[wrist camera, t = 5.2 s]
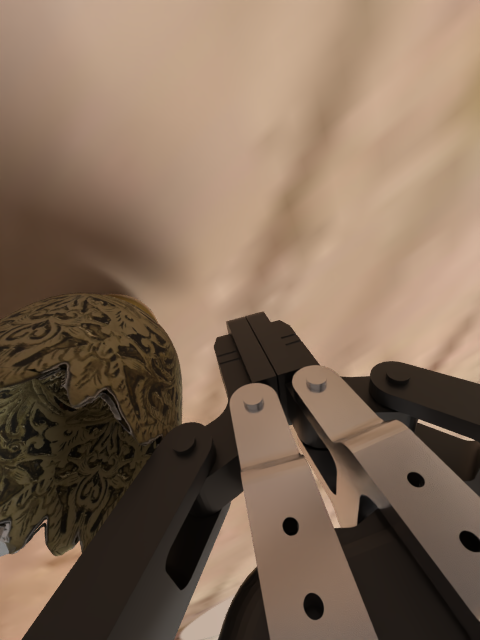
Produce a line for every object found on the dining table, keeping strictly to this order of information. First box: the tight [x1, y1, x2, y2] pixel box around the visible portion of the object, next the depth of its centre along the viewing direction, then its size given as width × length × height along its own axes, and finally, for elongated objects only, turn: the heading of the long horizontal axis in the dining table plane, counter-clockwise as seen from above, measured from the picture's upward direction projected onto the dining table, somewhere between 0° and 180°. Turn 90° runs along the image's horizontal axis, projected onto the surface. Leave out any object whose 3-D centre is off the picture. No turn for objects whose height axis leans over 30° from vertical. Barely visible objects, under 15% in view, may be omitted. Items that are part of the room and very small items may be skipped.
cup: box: [0, 293, 182, 556], centre depth 11 cm, size 8×7×8 cm
